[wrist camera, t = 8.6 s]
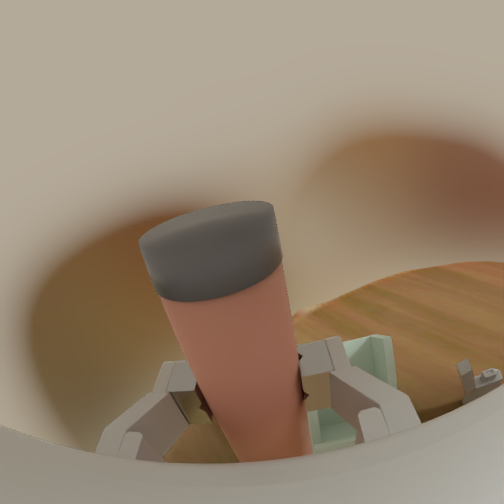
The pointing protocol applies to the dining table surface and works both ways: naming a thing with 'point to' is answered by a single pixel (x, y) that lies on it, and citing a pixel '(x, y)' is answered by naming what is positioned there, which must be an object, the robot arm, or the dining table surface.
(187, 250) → the marker
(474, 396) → the lighter
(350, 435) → the green holder stand
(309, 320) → the dining table surface
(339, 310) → the dining table surface
